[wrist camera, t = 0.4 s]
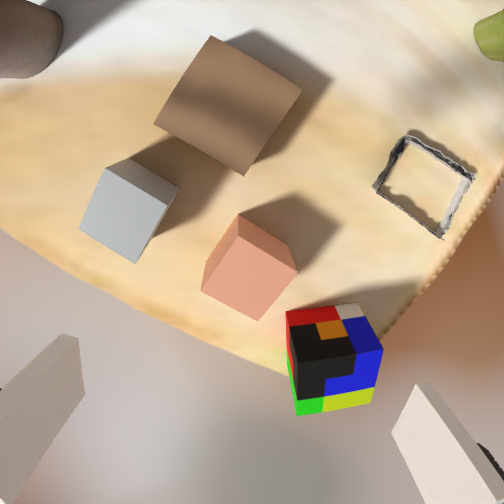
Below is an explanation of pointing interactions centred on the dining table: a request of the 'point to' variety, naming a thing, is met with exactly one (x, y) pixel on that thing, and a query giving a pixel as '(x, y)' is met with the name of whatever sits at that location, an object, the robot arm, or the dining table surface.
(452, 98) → the dining table surface
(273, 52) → the dining table surface
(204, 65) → the walnut base block
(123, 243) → the slate grey cube
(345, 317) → the puzzle toy
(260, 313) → the terracotta cube
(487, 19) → the plant pot
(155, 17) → the dining table surface
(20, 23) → the pillar candle
